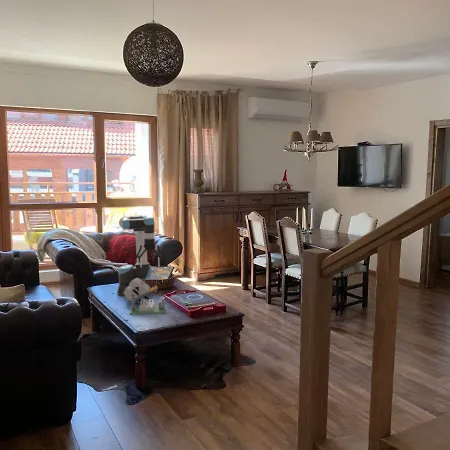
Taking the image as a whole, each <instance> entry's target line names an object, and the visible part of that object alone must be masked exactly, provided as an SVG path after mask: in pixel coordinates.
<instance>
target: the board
mask: <svg viewBox="0 0 450 450" xmlns="http://www.w3.org/2000/svg"><path fill="white" fill-rule="evenodd" d="M165 309H166V304H164V310H159V304H158V305H157V304H154V311H148V312H140V305H135V310H134V311H131V308H130V310H129V315H131V314H135V315H158V314H165V311H166V310H165Z"/></svg>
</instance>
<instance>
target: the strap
mask: <svg viewBox="0 0 450 450" xmlns="http://www.w3.org/2000/svg"><path fill="white" fill-rule="evenodd" d="M157 290H158V286H157V285H154V286H153V287H150V290H149V291H148V292H146V293H144V294H142V295H140V296H139V297H137V298H135V299H133V300H134V302H135V301H137V300H139V299H141V300H142V299H144V298H143V297H144V296H148V295H150V294H152V293H153V292H155V291H157Z"/></svg>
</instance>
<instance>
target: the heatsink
mask: <svg viewBox="0 0 450 450" xmlns="http://www.w3.org/2000/svg"><path fill="white" fill-rule="evenodd" d="M150 299H151V298H150ZM150 299H149V301H148V299H145V298H143V299H141V302H139V303H140V304H139V306H140V312H148V311H154V305H155V302H154V299H153V298H152V299H151V300H152V302H150ZM142 300H143V301H144V302H143V303H142Z"/></svg>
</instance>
